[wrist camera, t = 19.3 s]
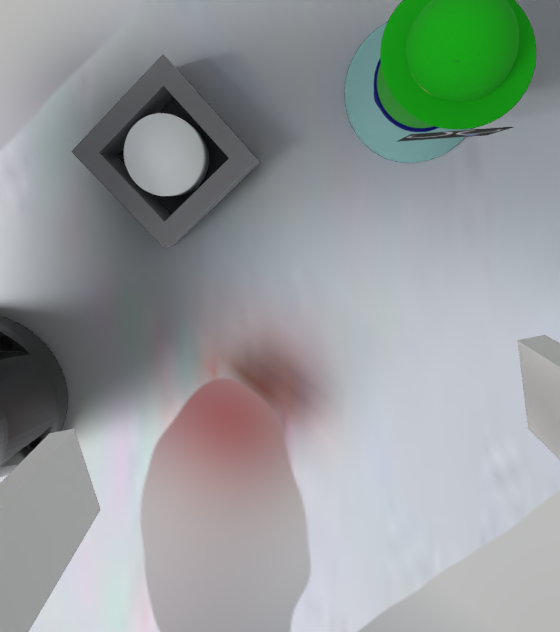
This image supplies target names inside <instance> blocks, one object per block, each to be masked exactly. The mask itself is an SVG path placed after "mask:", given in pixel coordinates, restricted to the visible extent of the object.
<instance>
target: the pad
mask: <svg viewBox="0 0 560 632" xmlns="http://www.w3.org/2000/svg"><path fill="white" fill-rule="evenodd" d="M386 24H387V23H385V24H383V25H382V26H380V27H379V28H377V29H376V30H375V31H374V32H372V33H371V34H370V35H369V36H368V37H367V38H366V39H365V40H364V42H363V43H362V44H361V46H360V47H359V48H358V50H357V52H356V54H355V55H354V57H353V59H352V62H351V64H350V67H349V70H348V73H347V77H346V83H345V106H346V110H347V115H348V117H349V120H350V123H351V125H352V127H353V129H354V131H355V133H356V134H357V135H358V137H359V138H360V140H361V141H362V142H363V143H364V144H365V145H366V146H367V147H368V148H370V149H371V150H372V151H373V152H375V153H377V154H378V155H380V156H382V157H384V158H386V159H389V160H393V161H396V162H403V163H416V162H423V161H427V160H431V159H434V158H436V157H439V156H441V155H443V154H445V153H446V152H448V151H450V150H451V149H452V148H454V147H455V146H456V145H457V144H458V143H459V142H461V141H462V140H463V139H464V137H454V138H440V139H426V140H412V141H398V140H400V139H402V138H404V137H406V136H408V135H410V134H420V133H434V132H448V131H462V130H471V128H470V129H445V128H438V129H435V130H432V131H428V132H410V131H406V130H403V129H401V128H399V127H397V126H395V125H394V124H393V123H391V122H390V121H389V120H388V119H387V118H386V117H385V116H384V115H383V113H382V112H381V110H380V108H379V107H378V106H377V104H376V102H375V100H374V94H373V93H374V74H375V70H376V67H377V63H378V61H379V59H380V49H381V41H382V37H383V33H384V30H385V27H386ZM396 141H398V142H396Z"/></svg>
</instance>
